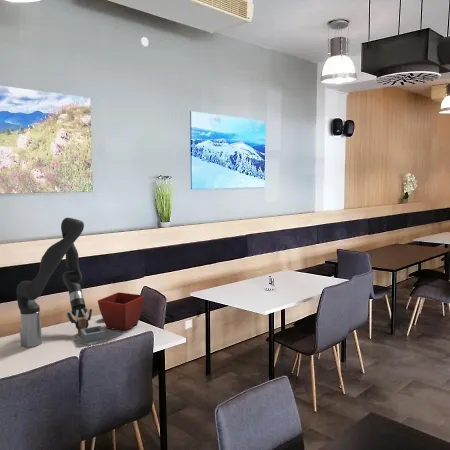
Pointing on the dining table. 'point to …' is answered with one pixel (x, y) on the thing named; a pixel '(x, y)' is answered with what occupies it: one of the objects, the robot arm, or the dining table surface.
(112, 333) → the well board
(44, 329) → the dining table surface
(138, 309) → the plant pot
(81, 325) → the walnut post
